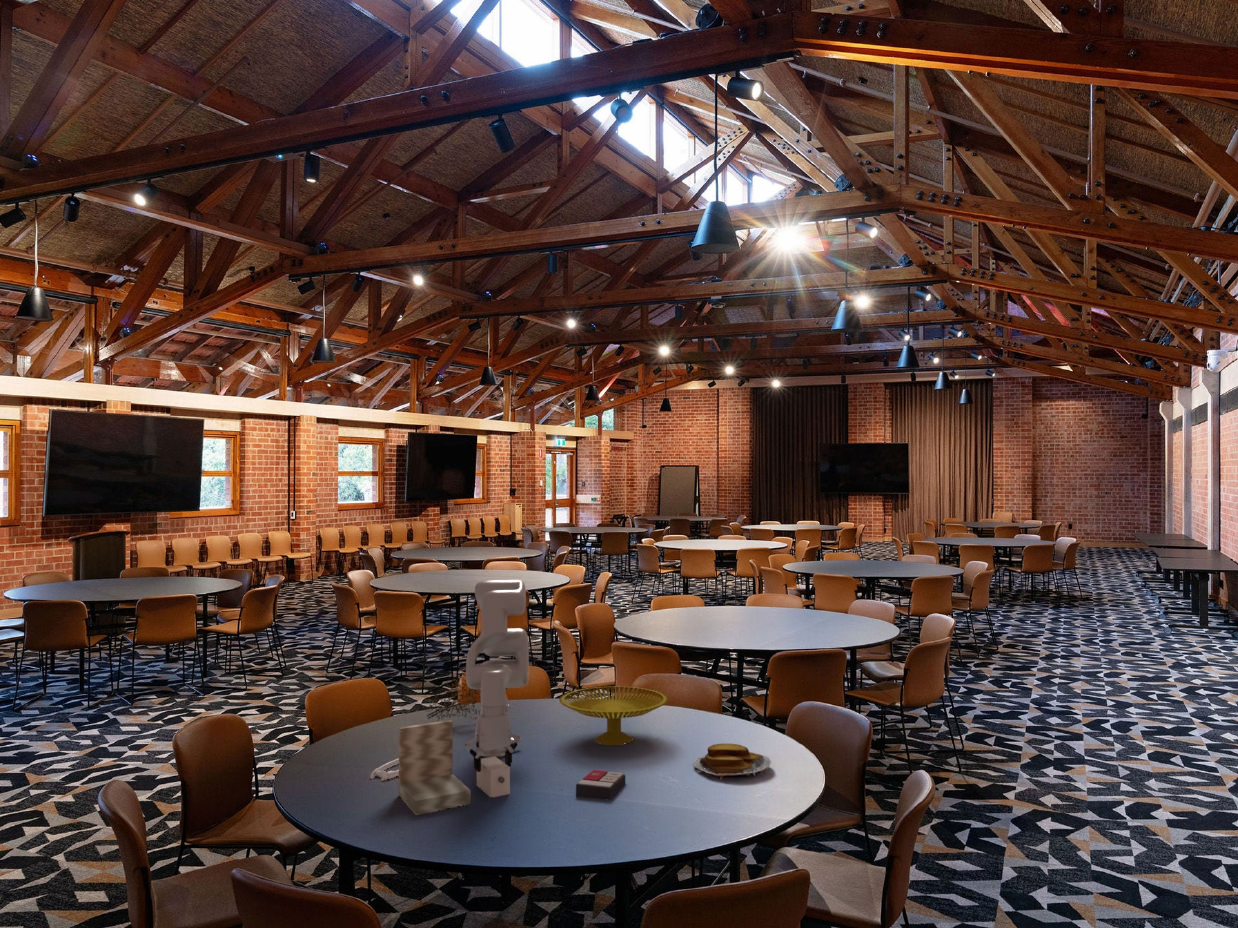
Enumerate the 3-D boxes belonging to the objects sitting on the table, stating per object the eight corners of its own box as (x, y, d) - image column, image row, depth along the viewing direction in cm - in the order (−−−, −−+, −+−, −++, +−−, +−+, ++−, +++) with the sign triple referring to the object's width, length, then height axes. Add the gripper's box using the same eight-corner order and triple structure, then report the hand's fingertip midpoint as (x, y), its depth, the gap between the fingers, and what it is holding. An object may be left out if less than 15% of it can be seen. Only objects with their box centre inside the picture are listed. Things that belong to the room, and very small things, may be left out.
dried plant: (402, 687, 303) (512, 636, 305) (423, 676, 333) (522, 630, 335) (433, 764, 299) (544, 712, 301) (452, 746, 330) (552, 699, 332)
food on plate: (729, 788, 245) (729, 766, 245) (678, 767, 265) (677, 747, 266) (788, 771, 259) (787, 751, 260) (735, 752, 280) (734, 733, 280)
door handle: (439, 760, 274) (388, 783, 251) (417, 756, 278) (364, 778, 256) (440, 752, 274) (388, 774, 251) (417, 748, 278) (364, 770, 256)
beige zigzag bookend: (450, 785, 248) (450, 719, 249) (470, 804, 233) (470, 733, 234) (398, 795, 240) (399, 727, 241) (415, 815, 225) (416, 742, 226)
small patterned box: (625, 771, 250) (610, 785, 236) (625, 786, 250) (610, 800, 235) (592, 768, 253) (575, 781, 239) (592, 782, 253) (575, 796, 239)
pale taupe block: (495, 782, 251) (495, 756, 252) (511, 795, 240) (511, 768, 240) (476, 785, 248) (476, 759, 249) (492, 799, 237) (492, 771, 237)
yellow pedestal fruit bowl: (644, 720, 321) (643, 682, 322) (687, 749, 283) (687, 705, 284) (546, 730, 307) (546, 690, 307) (578, 762, 269) (578, 717, 270)
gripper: (514, 704, 253) (514, 760, 252) (461, 711, 244) (461, 769, 243) (524, 709, 247) (524, 766, 245) (470, 716, 238) (470, 776, 237)
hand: (493, 767), depth 244 cm, fingers open, 9 cm apart
